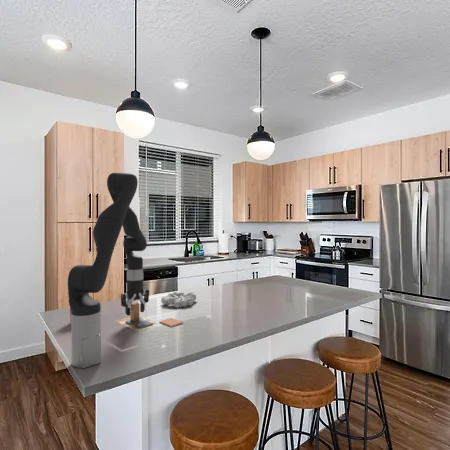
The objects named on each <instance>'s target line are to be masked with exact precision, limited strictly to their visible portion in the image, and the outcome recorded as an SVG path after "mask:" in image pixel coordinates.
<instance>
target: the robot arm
mask: <svg viewBox="0 0 450 450" xmlns="http://www.w3.org/2000/svg"><path fill="white" fill-rule="evenodd" d="M137 177H138V176H136V175H135V174H134V173H129V172H128V173H127V172H111V173H110V174H108V177H107V179H106V180H107V181H106V186H107V189H108V193H109V195H110V197H111V200H112V202H113V203H111V204H110V205H109V206H107V207H106V208H104V210H103V211H102V212H101V213H99V215H98V217H97V220H96V222H95V224H94V228H92V229H93V230H92V236H93V241H94V244H95V248H96V255H95V259H94V262H93V263H92V264H91V265H87V264H77V265H75V266H73V267H71V269H70V271H69V273H68V275H67V276H68V277H67V294H68V305H69V309H70V308H71V321H70V323H71V324H70V326H71V336H70V339H71V340H70V341H71V345H70V346H71V347H70V348H71V349H70V350H71V365H72V367H74V368H79V369H80V368H81V369H86V368H89V367H92V366H95V365H98V364H101V363H102V336H101V332H102V331H101V329H102V328H101V320H102V319H101V316H102V315H101V312H102V311H101V307H102V306H101V303H100V301H98V300H97V299H94V298H93V297H92V296H91V295H90V294H95V293H99V292H100V291H102V289H103V287H104V285H105V283H106V280H107V277H108V273H109V268H110V265H111V261H112V260H111V259H112V256H113V253H114V249H115V247H116V244H117V241H118V238H119V235H120V234H121V232H122V231H121V230H122V229H123V232H124V234H125V236H126V237H125V238H124V239H123V241H122V242H123V244H122V245H123V249H124V253H125V257H126V261H127V262H126V263H127V265H126V266H127V268H126V269H127V271H126V292H125V293H120V306H121V307H123V308H125V311H124V312H125V315H126V316H129V317H130V305H131V303H134V301H139V313H144V312H145V310H146V306H145V305H146V303H149V301H150V299H149V298H150V290H149V289H144V262H143V261H144V259H143V257H142V256H140V255H135V253H134V252H143V251H145V250H146V249H147V246H148V243H147V239H146V237H145V235H144V234H143V231H142V230H141V228H140V224H139V220H138V219H139V218H138V217H137V214H136V212H135V211H134V210H133V209H132V207H130V205H131V203H132V200H133V199H134V197H135V194H136V192H137V189H138V181H139V180H138V178H137Z"/></svg>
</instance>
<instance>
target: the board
mask: <svg viewBox="0 0 450 450" xmlns="http://www.w3.org/2000/svg"><path fill="white" fill-rule="evenodd" d="M139 318H141V319H143V320H146V321H148V322H151V323H153V325H151V326H147V327H144V328H140V329H139V328H137V327H134V326H132V325H129V324H127V323H125V321H128V320H130V316H129V317H124V318H120V319H117V320H114V322H115V323H116V324H120V325H122V326H123V327H127V328H129V329H131V330H133V331H134V332H135V331H136V332H139V331H141V330H146V329H150V328H153V327H156V326H159V325H160V324H161V323H160V324H159V323H158V322H157V323H156V322H154V321H152V320H149V319H147V318H144V317H142V316H139Z"/></svg>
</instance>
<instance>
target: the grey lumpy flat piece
mask: <svg viewBox="0 0 450 450" xmlns="http://www.w3.org/2000/svg"><path fill="white" fill-rule="evenodd" d="M196 300H197V295H196V294H194V292H188V293H185V292H183V291H179V292H177V291H173V292H170V293H168V294H166V295H165V296H163V297H162V298H161V301H160V302H161V303H162V304H163V305H165V306H168V305H172V307H173V308H175V309H178V308H180V307H181V308H185V307H186V306H192V305H193V304H194V302H195V301H196Z"/></svg>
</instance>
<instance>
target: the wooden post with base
mask: <svg viewBox="0 0 450 450" xmlns="http://www.w3.org/2000/svg"><path fill="white" fill-rule="evenodd" d="M129 317H130V320H128V321H125V323H127V324H129V325H132V326H134V327H137V328H139V329H140V328H144V327H147V326H151V325H153V323H151V322H148V321H146V320H143V319H141V318H139V317H140V302H139V303H138V302H132V303H131V305H130V315H129Z"/></svg>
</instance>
